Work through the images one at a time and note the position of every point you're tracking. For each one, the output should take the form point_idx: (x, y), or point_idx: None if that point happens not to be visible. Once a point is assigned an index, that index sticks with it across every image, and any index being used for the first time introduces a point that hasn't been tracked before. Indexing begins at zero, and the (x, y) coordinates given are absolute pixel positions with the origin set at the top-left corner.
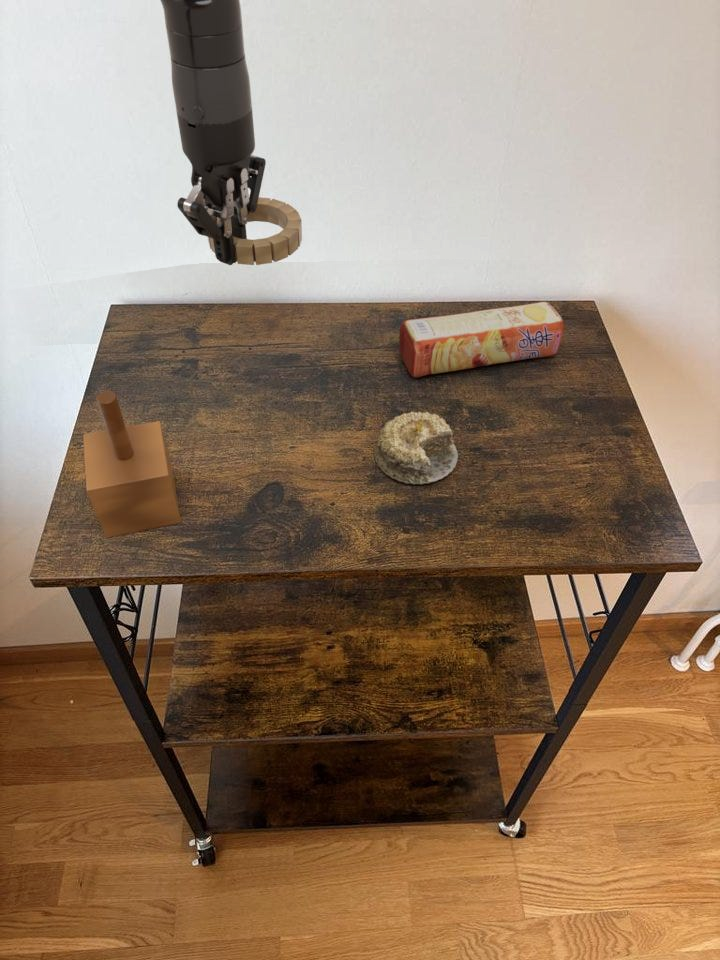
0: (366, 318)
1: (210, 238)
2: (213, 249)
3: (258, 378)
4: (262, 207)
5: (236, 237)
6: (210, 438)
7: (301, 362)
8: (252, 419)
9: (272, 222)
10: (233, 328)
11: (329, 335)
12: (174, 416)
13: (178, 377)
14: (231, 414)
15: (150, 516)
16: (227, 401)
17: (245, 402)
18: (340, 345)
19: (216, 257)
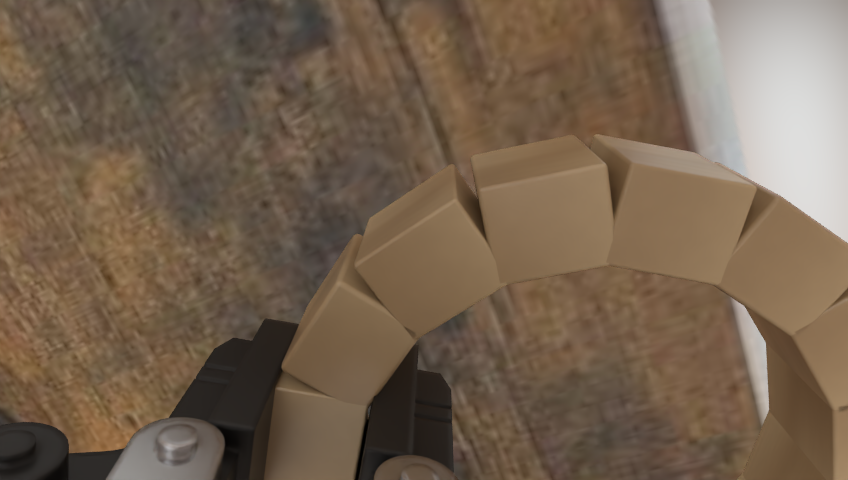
0: (685, 438)
1: (337, 273)
2: (338, 261)
3: (324, 254)
4: (819, 446)
5: (354, 468)
6: (54, 228)
7: (435, 339)
8: (169, 301)
9: (760, 442)
10: (524, 82)
11: (578, 370)
12: (74, 94)
13: (227, 19)
14: (160, 243)
15: None
16: (200, 211)
17: (219, 259)
18: (542, 410)
19: (223, 346)
